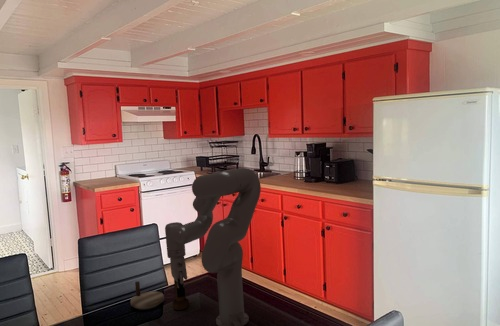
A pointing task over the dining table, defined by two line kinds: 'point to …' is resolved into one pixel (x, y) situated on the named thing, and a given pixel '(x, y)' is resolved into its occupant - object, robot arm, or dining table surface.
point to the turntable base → (147, 308)
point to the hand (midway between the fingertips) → (180, 294)
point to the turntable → (146, 298)
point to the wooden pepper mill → (179, 300)
